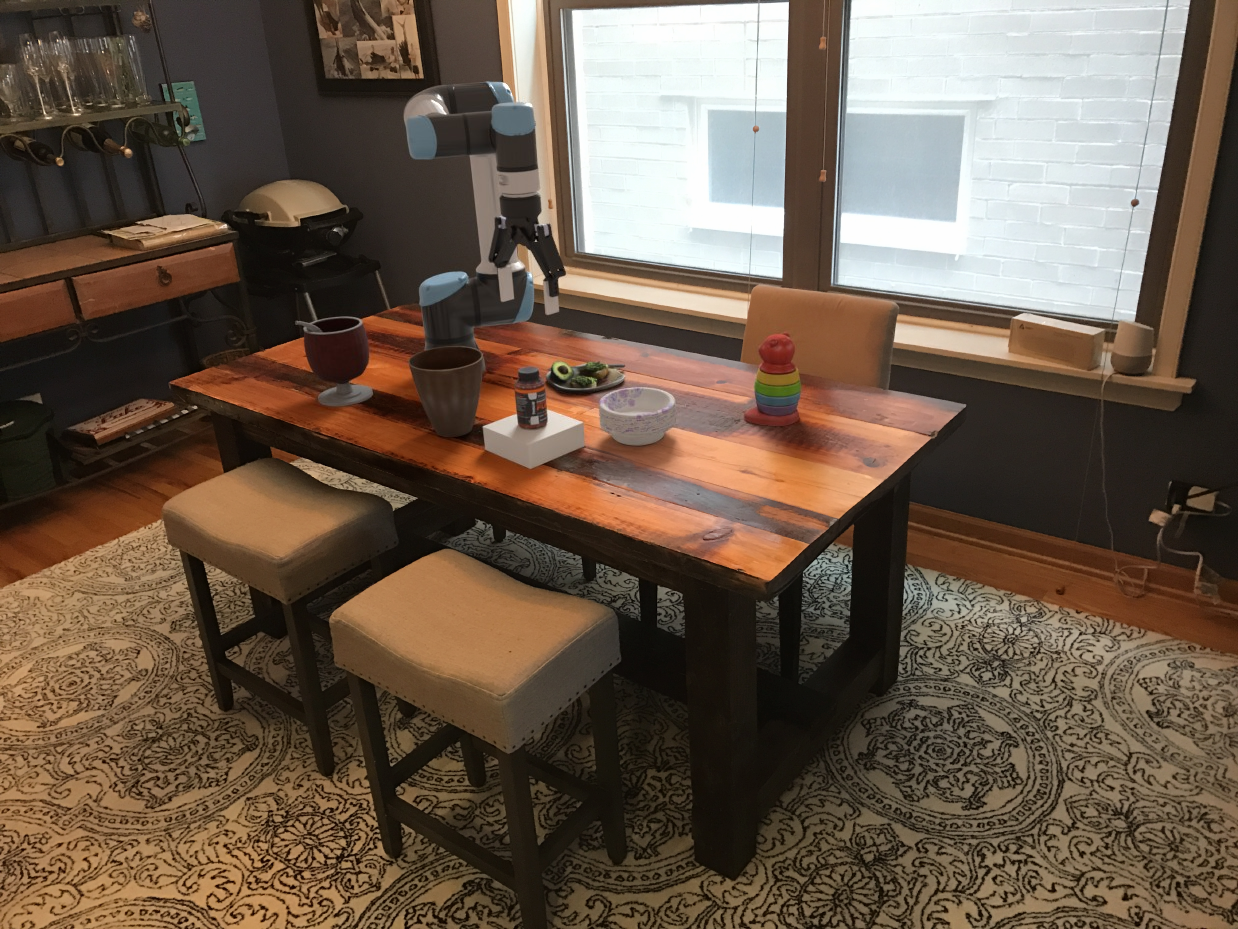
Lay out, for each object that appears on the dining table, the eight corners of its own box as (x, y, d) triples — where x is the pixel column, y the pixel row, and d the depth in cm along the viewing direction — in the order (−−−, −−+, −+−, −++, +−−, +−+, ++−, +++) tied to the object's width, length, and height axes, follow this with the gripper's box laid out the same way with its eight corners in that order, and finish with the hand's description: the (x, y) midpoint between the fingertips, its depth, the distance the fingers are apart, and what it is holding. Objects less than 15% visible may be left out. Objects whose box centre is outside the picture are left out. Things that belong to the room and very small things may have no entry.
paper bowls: (654, 457, 188) (653, 419, 185) (586, 444, 195) (584, 407, 192) (689, 428, 200) (688, 392, 197) (623, 418, 207) (622, 382, 204)
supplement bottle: (543, 430, 189) (538, 375, 185) (514, 429, 191) (508, 374, 186) (551, 419, 195) (547, 364, 190) (522, 418, 196) (517, 364, 191)
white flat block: (485, 449, 195) (482, 426, 193) (539, 428, 204) (537, 405, 202) (530, 469, 186) (528, 444, 184) (585, 445, 194) (583, 422, 192)
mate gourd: (356, 381, 236) (342, 300, 227) (388, 394, 227) (374, 310, 218) (297, 400, 226) (280, 315, 218) (327, 414, 217) (311, 326, 209)
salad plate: (610, 362, 241) (609, 344, 239) (644, 383, 226) (643, 364, 224) (537, 377, 233) (535, 359, 231) (566, 400, 219) (565, 380, 217)
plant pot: (500, 418, 210) (492, 346, 203) (477, 446, 197) (468, 370, 190) (434, 415, 213) (424, 345, 206) (407, 443, 200) (396, 368, 193)
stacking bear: (771, 404, 210) (773, 323, 202) (811, 415, 203) (814, 332, 196) (739, 419, 203) (739, 336, 195) (779, 431, 196) (781, 346, 189)
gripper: (462, 189, 185) (474, 299, 195) (547, 204, 169) (556, 323, 178) (494, 183, 190) (504, 290, 199) (580, 197, 173) (587, 313, 183)
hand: (529, 306), depth 189 cm, fingers open, 13 cm apart
